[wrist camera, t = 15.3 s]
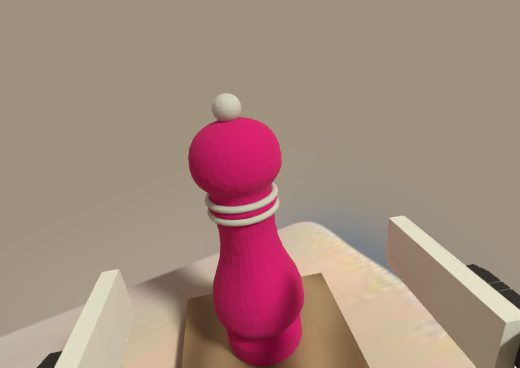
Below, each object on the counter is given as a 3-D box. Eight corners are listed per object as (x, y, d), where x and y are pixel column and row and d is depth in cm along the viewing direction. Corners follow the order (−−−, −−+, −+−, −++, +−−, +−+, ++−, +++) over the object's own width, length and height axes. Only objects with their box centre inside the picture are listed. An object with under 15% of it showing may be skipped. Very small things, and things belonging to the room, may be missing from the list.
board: (180, 442, 21) (175, 429, 20) (191, 310, 32) (187, 299, 31) (376, 396, 22) (376, 382, 22) (321, 283, 33) (321, 272, 33)
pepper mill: (206, 339, 27) (141, 104, 19) (264, 290, 31) (230, 84, 23) (267, 394, 22) (212, 108, 14) (325, 327, 26) (309, 81, 18)
